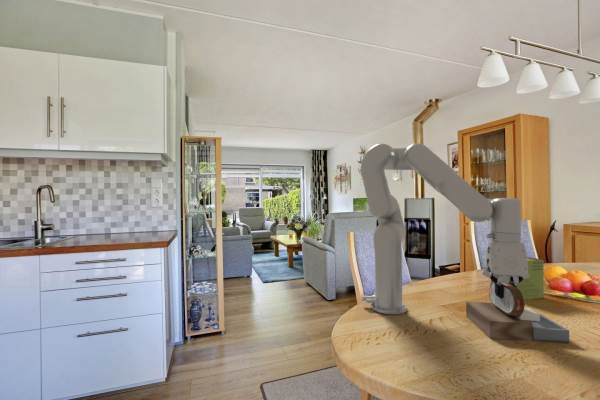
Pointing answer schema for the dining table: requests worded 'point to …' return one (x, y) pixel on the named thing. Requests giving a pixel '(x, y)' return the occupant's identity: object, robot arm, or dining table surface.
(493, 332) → the brown flat block
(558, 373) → the dining table surface
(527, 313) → the cream tile
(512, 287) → the tin
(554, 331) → the box
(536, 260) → the protein box
